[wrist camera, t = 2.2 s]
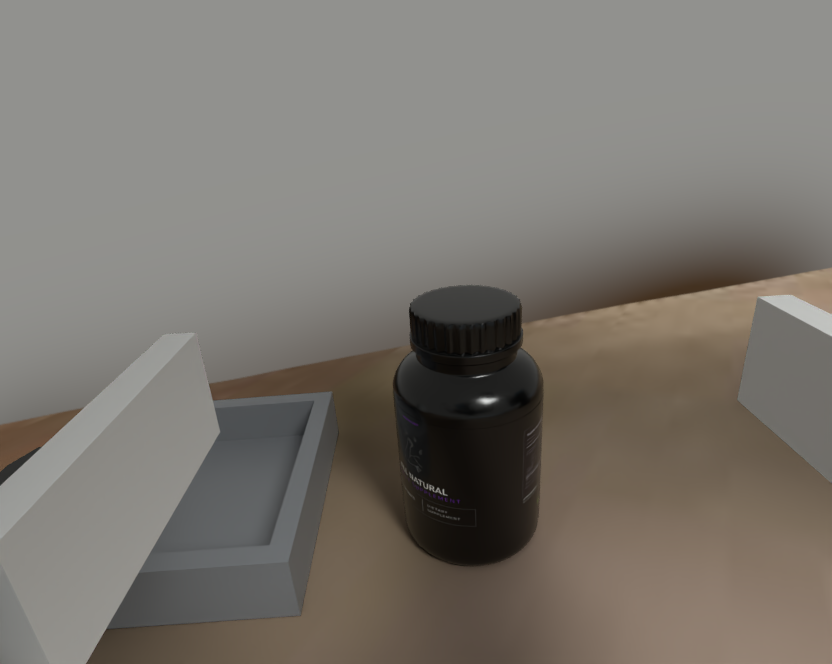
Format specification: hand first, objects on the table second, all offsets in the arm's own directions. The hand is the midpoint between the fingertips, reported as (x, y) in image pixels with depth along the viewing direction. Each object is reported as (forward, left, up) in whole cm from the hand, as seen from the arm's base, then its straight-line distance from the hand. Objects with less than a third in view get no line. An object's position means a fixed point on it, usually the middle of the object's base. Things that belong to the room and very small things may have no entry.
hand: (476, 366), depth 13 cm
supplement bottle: (-1, -10, -14) cm, 17 cm away
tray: (+14, -12, -14) cm, 23 cm away
